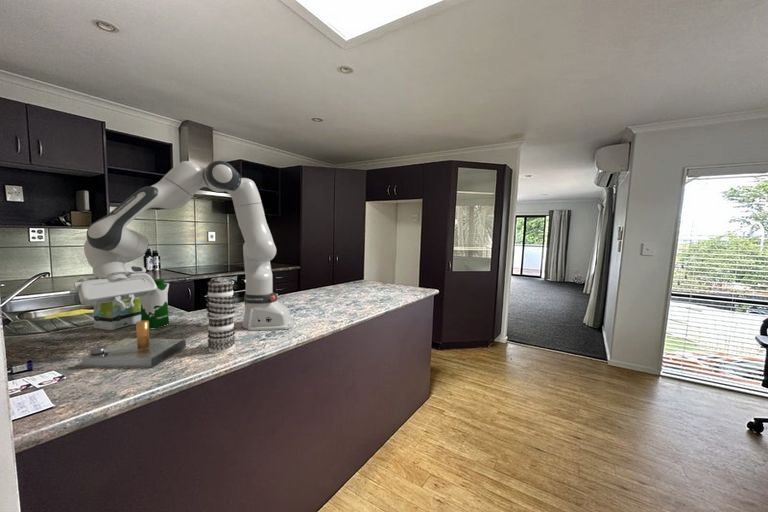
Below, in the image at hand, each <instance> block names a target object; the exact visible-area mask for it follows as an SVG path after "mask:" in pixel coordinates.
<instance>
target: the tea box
mask: <svg viewBox="0 0 768 512" xmlns="http://www.w3.org/2000/svg"><path fill="white" fill-rule="evenodd" d="M121 301H122V302H124V303H128V302H130V301H128V300H127V299H124V300H121ZM133 303H134V308H133V309H127V310H122V309H121V307H120V306H118V305H116V304H115V303H114V301H112V302H106V303H100V304H94V305H93V327H94V329H99V330H107V331H115V330H117V329H121V328H124V327H128V326H132V325H134V324H135V325H136V322H138V321H141V297H136V298H134V300H133Z"/></svg>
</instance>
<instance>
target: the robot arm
mask: <svg viewBox="0 0 768 512" xmlns="http://www.w3.org/2000/svg"><path fill="white" fill-rule="evenodd" d="M201 189H204V190H205V189H206V190H208V191H210V192H214V193H217V194H218V193H220V194H221V193H224V192H226V193H228V194H229V195H230V197H231V199H232V203H233V207H234V212H235V216H236V219H237V223H238V227H239V229H240V231H241V235H242V237H243V240H244V243H243V245H242V252H243V254H242V255H243V267H244V274H245V276H244V277H245V293H244V297H243V298H244V299H243V300H244V306H245V307H244V308H245V309H244V315H243V319H242V324H241V327H243V328H244V329H247V330H248V331H250V332H251V331H253V332H255V331H272V330H273V331H275V330H276V331H277V330H279V331H280V330H287V329H290V328H292V327H293V326H295V324H296V323H297V320H296V319H295V317H291V312H290V309H289V308H288V307H287V306H286V305H284V304H283V303H281V302H280V301H278V295H279V294H278V293H275V292H274V291H273V288H274V287H273V285H274V284H273V271H272V265H271V261H272V260H273V259H274V258H275V256H276V255H277V247H276V245H275V242H274V239H273V235H272V233H271V230H270V228H269V224H268V223H267V219H266V216H265V215H266V214H265V209H264V206H263V203H262V199H261V195H260V192H259V190H258V187H257V185H256V183H255V181H254V180H252V179H250V178H247V177H242V176H241V174H240V173H239V172H238V171H237V170H236V169H235V168H234V167H233V166H232V165H231V164H230V163H229V162H227V161H225V160H215V161H211V162H210V163H209V164H208V165H207V166H206V167H202V166H199V165H198V164H196V163H195V162H193V161H189V160H183V161H180V162H179V163H177V164H176V165H175V166H173V167H172V168H171V169H170V170H169V171H168V172H167V173H165V175H164V176H163V177H162V178H161V179H160V180H159V181H158V182H156V183H154V184H152V185H150V186H149V185H148V186H144V187H141V188H139V189H138V190H137V191H135V192H134V193H133V194H132V195H130V196H129V197H127V198H126V199H125V200H124V201H123V202H121V203H120V204H119V205H118V206H116V207H115V208H113V210H111V211H110V212H108V214H106V215H104V216H103V217H101V218H99V219H98V220H96V221H94V222H93V223H91V224H90V225H89V226H88V227H87V230H86V240H85V241H84V245H83V250H84V251H83V252H84V255H85V258H86V261H87V263H88V264H89V266H90V268H92V275H94V277H89V278H79V279H78V280H76V281H75V282H74V283H73V287H74V289H75V291H77V292H78V297H79V301H80V304H81V305H82V306H85V307H87V306H94V304H100V303H106V302H112V301H114V303H115V304H116V305H118V306H120V307H121V309H122V310H127V309H133V308H134V303H133V300H134V298H136V297H142V296H148V295H153V294H154V293H155V291H156V290H157V285H156V283H155V282H154V280H155V279H153V277H152V276H151V275H150V274H148V273H146V272H147V269H146V267H144V266H137V265H131V264H126V263H130V262H133V261H134V260H137V259H140V258H141V257H142V256H144V255H145V254H146V253H147V252H148V250H149V245H150V243H149V240H148V238H147V236H145V235H143V234H141V233H140V232H137V231H135V230H133V229H130V228H129V227H127V226H128V225H129V224H130V223H131V222H133V221H134V220H135V219H136V218H137V217H139V216H140V215H141V214H142V213H143V212H144V211H146V210H148V209H152V208H154V209H155V208H158V209H159V208H160V209H167V210H178V209H180V208H183V207H185V206H186V204H188V203H189V202H190V201H191V199H192V198H193V197H194V196H195V194H197V192H198V191H199V190H201ZM124 299H127V300H128V301H130V302H128V303H124V302H122V301H121V300H124Z"/></svg>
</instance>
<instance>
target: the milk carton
mask: <svg viewBox="0 0 768 512" xmlns="http://www.w3.org/2000/svg"><path fill="white" fill-rule="evenodd" d="M153 280H154V282H155V283H156V285H157V290H156V291H155V293H154V294H153V295H148V296H142V297H141V321H144V320H148V321H149V328H155V329H154V330H157V329H156V328H158V327H160V328H162V327H161V326H163V327H165V326H164V325H166V326H168V325H167V324H169V325H170V319H169V318H170V317H169V303H168V301H169V300H168V293H169V287H170V283H167V282H166V283H165V279H163V278H162V279H161V278H157V279H153ZM158 329H159V328H158Z"/></svg>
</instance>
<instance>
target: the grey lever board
mask: <svg viewBox="0 0 768 512" xmlns="http://www.w3.org/2000/svg"><path fill="white" fill-rule="evenodd" d="M149 339H150V347H149V348H146V349H129V350H121V351H112V352H105V353H103V354H99V355H90V353H89V354H87V355H84V356H82V360H81V361H82V368H129V369H131V368H137V369H138V368H141V369H143V368H145V369H146V368H149V369H150V368H154V367H156V366H157V365H159V364H160V363H162V362H164V361H165V360H166V359H169V358H170V357H172V356H173V355H175V354H177V353H178V352H180V351H181V350H183V349H185V348H187V347H186V346H187V340H186V339H185V338H180V339H179V338H149ZM130 344H137V338H124V339H121V340H119V341H117V342H115V343H113V344H110V345H107V346H106V347H112V346H121V345H130Z"/></svg>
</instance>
